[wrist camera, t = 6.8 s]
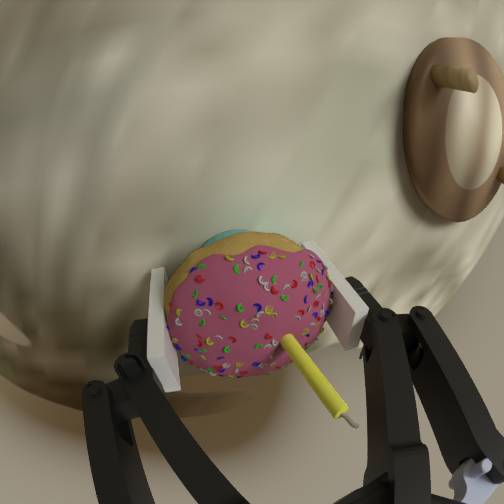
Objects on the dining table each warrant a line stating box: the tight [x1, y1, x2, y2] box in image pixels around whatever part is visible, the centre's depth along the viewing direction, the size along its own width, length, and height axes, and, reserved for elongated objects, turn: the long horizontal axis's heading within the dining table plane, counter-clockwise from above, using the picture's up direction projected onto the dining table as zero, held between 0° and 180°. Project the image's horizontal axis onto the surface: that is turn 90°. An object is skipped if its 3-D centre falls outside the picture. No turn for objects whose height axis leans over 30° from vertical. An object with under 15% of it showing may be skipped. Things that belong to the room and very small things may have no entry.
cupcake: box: [164, 230, 359, 428], centre depth 13 cm, size 9×8×12 cm
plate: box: [403, 38, 504, 222], centre depth 15 cm, size 16×16×4 cm
